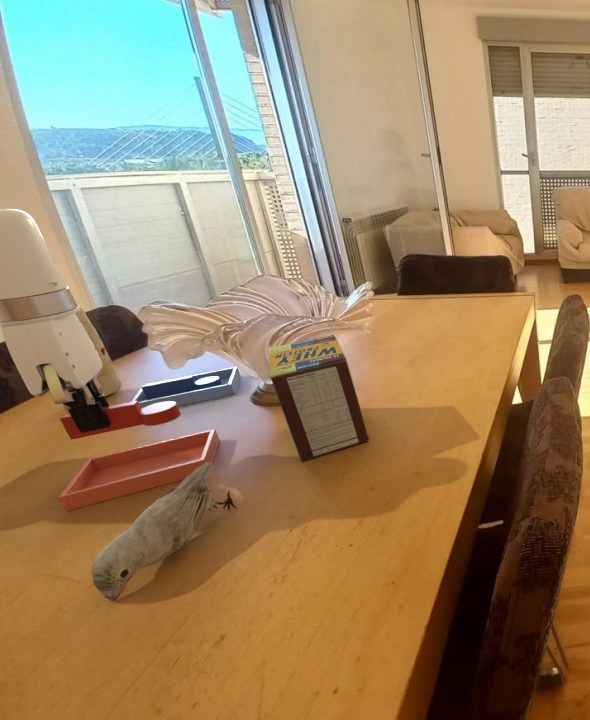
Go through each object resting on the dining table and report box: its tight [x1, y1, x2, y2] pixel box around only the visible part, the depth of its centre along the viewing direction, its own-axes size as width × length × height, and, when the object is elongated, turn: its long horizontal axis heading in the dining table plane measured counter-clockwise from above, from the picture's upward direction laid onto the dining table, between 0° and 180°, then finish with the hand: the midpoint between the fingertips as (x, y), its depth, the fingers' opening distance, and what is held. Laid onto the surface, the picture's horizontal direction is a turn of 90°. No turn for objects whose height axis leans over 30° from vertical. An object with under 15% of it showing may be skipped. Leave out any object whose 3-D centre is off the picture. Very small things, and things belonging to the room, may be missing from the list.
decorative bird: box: [91, 462, 238, 603], centre depth 58 cm, size 5×16×7 cm, turn 178°
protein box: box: [267, 334, 370, 462], centre depth 82 cm, size 10×15×16 cm
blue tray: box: [130, 366, 242, 409], centre depth 101 cm, size 16×11×2 cm
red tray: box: [57, 428, 221, 512], centre depth 75 cm, size 16×11×2 cm
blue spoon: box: [140, 374, 222, 400], centre depth 100 cm, size 12×4×4 cm, turn 122°
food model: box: [66, 306, 123, 397], centre depth 98 cm, size 10×7×20 cm
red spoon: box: [59, 401, 182, 441], centre depth 71 cm, size 12×4×4 cm, turn 122°
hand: (98, 425), depth 70 cm, fingers closed on red spoon, 1 cm apart
